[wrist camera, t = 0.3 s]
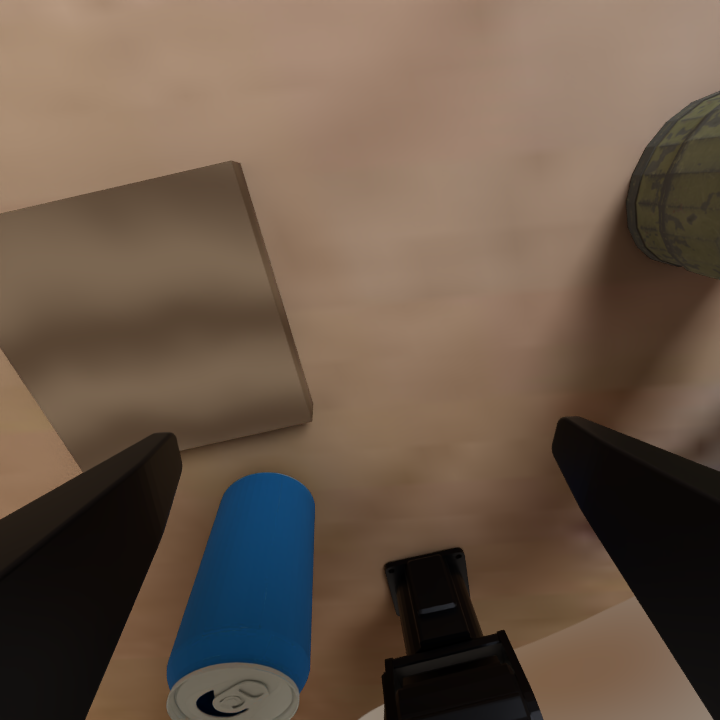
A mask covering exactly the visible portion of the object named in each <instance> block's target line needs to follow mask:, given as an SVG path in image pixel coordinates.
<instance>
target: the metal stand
mask: <svg viewBox="0 0 720 720" xmlns="http://www.w3.org/2000/svg"><path fill="white" fill-rule="evenodd" d="M0 348H1V349H2V351H3V352H4V354H5V355H6V357H7V358H8V360H9V361H10V363H11V364H12V366H13V367H14V369H15V370H16V372H17V373H18V375H19V377H20V378H21V380H22V381H23V383H24V384H25V386H26V387H27V389H28V390H29V392H30V393H31V395H32V396H33V398H34V399H35V401H36V402H37V404H38V405H39V407H40V408H41V410H42V411H43V413H44V414H45V416H46V417H47V419H48V420H49V422H50V423H51V425H52V426H53V428H54V429H55V431H56V432H57V434H58V435H59V437H60V438H61V440H62V441H63V443H64V444H65V446H66V447H67V449H68V450H69V452H70V453H71V455H72V456H73V458H74V459H75V461H76V462H77V464H78V465H79V467H80V468H81V470H82V472H86V471H87V470H89V469H91V468H93V467H94V466H96V465H98V464H100V463H102V462H103V461H105V460H107V459H109V458H110V457H112V456H114V455H116V454H117V453H119V452H121V451H123V450H125V449H126V448H128V447H130V446H132V445H133V444H135V443H137V442H139V441H141V440H142V439H144V438H146V437H148V436H149V435H151V434H153V433H158V432H172V433H174V434H175V435H176V438H177V442H178V446H179V451H181V450H186V449H190V448H195V447H199V446H204V445H208V444H213V443H217V442H222V441H226V440H231V439H236V438H240V437H245V436H249V435H254V434H258V433H263V432H267V431H272V430H276V429H281V428H285V427H290V426H294V425H299V424H303V423H308V422H312V415H313V402H312V399H311V395H310V392H309V389H308V386H307V382H306V379H305V376H304V372H303V369H302V366H301V362H300V359H299V356H298V352H297V349H296V346H295V343H294V339H293V336H292V333H291V329H290V326H289V323H288V319H287V316H286V313H285V310H284V306H283V303H282V300H281V296H280V293H279V290H278V286H277V283H276V280H275V277H274V273H273V270H272V267H271V263H270V260H269V257H268V253H267V250H266V247H265V243H264V240H263V237H262V234H261V230H260V227H259V224H258V220H257V217H256V214H255V210H254V207H253V204H252V201H251V197H250V194H249V191H248V187H247V184H246V181H245V177H244V174H243V171H242V168H241V164H240V163H238V162H234V161H228V162H223V163H219V164H215V165H210V166H206V167H202V168H197V169H193V170H188V171H184V172H180V173H175V174H171V175H167V176H162V177H158V178H154V179H149V180H145V181H140V182H136V183H132V184H127V185H123V186H119V187H114V188H110V189H106V190H101V191H97V192H93V193H88V194H84V195H79V196H75V197H71V198H66V199H62V200H58V201H53V202H49V203H45V204H40V205H36V206H32V207H27V208H23V209H18V210H14V211H10V212H5V213H1V214H0Z"/></svg>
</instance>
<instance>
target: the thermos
mask: <svg viewBox="0 0 720 720" xmlns="http://www.w3.org/2000/svg"><path fill="white" fill-rule="evenodd" d="M626 206H627V221H628V228H629V230H630V233H631V235H632V237H633V239H634V242H635V244H636V246H637V247H638V248H639V249H640V250H642V251H643V252H644V253H645V254H646V255H647V256H648V257H649V258H651V259H653V260H656V261H659V262H663V263H666V264H669V265H673V266H678V267H682V266H683V267H684V268H685V269H686V270H688V271H691V272H694V273H697V274H701V275H704V276H707V277H711V278H715V279H719V280H720V91H718V92H716V93H714V94H711V95H709V96H706V97H704V98H701V99H699V100H696V101H694V102H692V103H690V104H689V105H688V106H687V107H685V108H684V109H683V110H681V111H680V112H679V113H678V114H676V115H675V116H674V117H672V118H671V119H670V120H668V121H667V122H666V123H665V125H664V126H663V127H662V128H661V130H660V131H659V132H658V133H657V134H656V136H655V137H654V138H653V139H652V141H651V142H650V143H649V144H648V146H647V147H646V148H645V150H644V153H643V155H642V157H641V159H640V161H639V163H638V165H637V167H636V169H635V171H634V173H633V175H632V179H631V183H630V188H629V192H628V197H627V201H626Z"/></svg>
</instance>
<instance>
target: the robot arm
mask: <svg viewBox="0 0 720 720" xmlns="http://www.w3.org/2000/svg"><path fill="white" fill-rule="evenodd" d="M552 453H553V456H554V458H555V460H556V462H557V464H558V466H559V468H560V470H561V472H562V474H563V476H564V478H565V480H566V482H567V484H568V486H569V488H570V490H571V492H572V494H573V496H574V498H575V500H576V502H577V503H578V505H579V507H580V509H581V511H582V512H583V514H584V516H585V517H586V519H587V521H588V522H589V524H590V526H591V527H592V529H593V530H594V532H595V533H596V535H597V537H598V538H599V540H600V541H601V543H602V544H603V546H604V548H605V549H606V551H607V552H608V554H609V555H610V557H611V559H612V560H613V562H614V563H615V565H616V567H617V568H618V570H619V571H620V573H621V574H622V576H623V578H624V579H625V581H626V582H627V584H628V585H629V587H630V589H631V590H632V592H633V593H634V595H635V596H636V598H637V600H638V601H639V603H640V604H641V606H642V608H643V609H644V611H645V612H646V614H647V615H648V617H649V619H650V620H651V622H652V623H653V625H654V626H655V628H656V630H657V631H658V633H659V634H660V636H661V638H662V639H663V641H664V642H665V644H666V645H667V647H668V649H669V650H670V652H671V653H672V655H673V656H674V658H675V660H676V661H677V663H678V664H679V666H680V667H681V669H682V671H683V672H684V674H685V675H686V677H687V679H688V680H689V682H690V683H691V685H692V686H693V688H694V690H695V691H696V693H697V694H698V696H699V697H700V699H701V701H702V702H703V703H704V705H705V707H706V708H707V710H708V712H709V713H710V715H711V716H712V718H713V719H714V720H720V472H719V471H717V470H714V469H712V468H709V467H707V466H704V465H702V464H699V463H696V462H694V461H691V460H689V459H686V458H684V457H681V456H679V455H676V454H673V453H671V452H668V451H666V450H663V449H661V448H658V447H656V446H653V445H650V444H648V443H645V442H643V441H640V440H638V439H635V438H633V437H630V436H627V435H625V434H622V433H620V432H617V431H615V430H612V429H610V428H607V427H604V426H602V425H599V424H597V423H594V422H592V421H589V420H587V419H584V418H581V417H578V416H571V417H562V418H560V419H559V421H558V423H557V427H556V431H555V435H554V439H553V443H552ZM181 472H182V460H181V455H180V451H179V446H178V442H177V438H176V435H175V434H174V433H172V432H158V433H153V434H151V435H149V436H148V437H146V438H144V439H142V440H141V441H139V442H137V443H135V444H133V445H132V446H130V447H128V448H126V449H125V450H123V451H121V452H119V453H117V454H116V455H114V456H112V457H110V458H109V459H107V460H105V461H103V462H102V463H100V464H98V465H96V466H94V467H93V468H91V469H89V470H87V471H86V472H84V473H82V474H80V475H78V476H77V477H75V478H73V479H71V480H70V481H68V482H66V483H64V484H62V485H61V486H59V487H57V488H55V489H54V490H52V491H50V492H48V493H47V494H45V495H43V496H41V497H39V498H38V499H36V500H34V501H32V502H31V503H29V504H27V505H25V506H23V507H22V508H20V509H18V510H16V511H15V512H13V513H11V514H9V515H8V516H6V517H4V518H2V519H0V720H85V719H86V716H87V714H88V712H89V709H90V707H91V704H92V702H93V700H94V697H95V695H96V693H97V690H98V688H99V685H100V683H101V681H102V678H103V676H104V674H105V671H106V669H107V667H108V664H109V662H110V659H111V657H112V655H113V652H114V650H115V648H116V645H117V643H118V640H119V638H120V636H121V633H122V631H123V629H124V626H125V624H126V621H127V619H128V617H129V614H130V612H131V610H132V607H133V605H134V603H135V600H136V598H137V595H138V593H139V591H140V588H141V586H142V584H143V581H144V579H145V576H146V574H147V572H148V569H149V567H150V565H151V562H152V560H153V558H154V555H155V553H156V550H157V548H158V546H159V543H160V541H161V538H162V535H163V533H164V530H165V526H166V523H167V520H168V516H169V513H170V510H171V506H172V503H173V500H174V496H175V493H176V489H177V486H178V483H179V479H180V476H181ZM385 573H386V577H387V580H388V584H389V588H390V592H391V595H392V599H393V603H394V607H395V610H396V614H397V615H398V616H400V620H401V625H402V631H403V637H404V643H405V648H406V654H407V656H403V657H399V658H395V659H393V658H389V659H385V671H386V672H384V674H383V675H382V685H383V694H384V708H385V709H384V720H543V717H542V714H541V712H540V709H539V706H538V704H537V701H536V699H535V696H534V694H533V691H532V689H531V687H530V685H529V682H528V680H527V678H526V676H525V674H524V672H523V669H522V667H521V665H520V663H519V661H518V659H517V656H516V654H515V652H514V650H513V648H512V646H511V643H510V641H509V639H508V637H507V635H506V633H505V631H504V630H501V631H497V633H496V634H492V635H488V636H483V634H482V631H481V628H480V625H479V622H478V619H477V616H476V614H475V611H474V608H473V605H472V602H471V599H470V592H469V585H468V577H467V569H466V561H465V555H464V552H463V550H462V549H461V548H454V549H450V550H445V551H441V552H436V553H432V554H427V555H422V556H418V557H413V558H409V559H404V560H399V561H395V562H390V563H387V564H386V565H385Z"/></svg>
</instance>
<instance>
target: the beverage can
mask: <svg viewBox="0 0 720 720" xmlns="http://www.w3.org/2000/svg"><path fill="white" fill-rule="evenodd" d="M314 522H315V503H314V500H313V497H312V495H311V493H310V491H309V490H308V489H307V488H306V487H305V486H304V485H303V484H302V483H301V482H299V481H298V480H296V479H294V478H292V477H290V476H287V475H284V474H280V473H273V472H262V473H255V474H251V475H248V476H245V477H243V478H240V479H239V480H237V481H235V482H234V483H233V484H232V485H231V486H230V487H229V488H228V489H227V490H226V492H225V493H224V495H223V497H222V500H221V503H220V506H219V509H218V512H217V515H216V518H215V521H214V524H213V527H212V530H211V533H210V536H209V539H208V542H207V545H206V548H205V552H204V555H203V558H202V561H201V564H200V567H199V570H198V573H197V576H196V579H195V582H194V585H193V588H192V591H191V594H190V597H189V600H188V603H187V606H186V609H185V612H184V615H183V618H182V622H181V625H180V628H179V631H178V634H177V637H176V640H175V643H174V646H173V649H172V652H171V655H170V658H169V661H168V665H167V681H168V685H169V688H170V693H169V695H168V699H167V705H166V708H167V712H168V714H169V716H170V717H171V719H172V720H290V719H291V718H292V717H293V715H294V714H295V713H296V711H297V709H298V706H299V693H300V692H301V690H302V689H303V687H304V685H305V683H306V681H307V679H308V675H309V671H310V652H311V619H312V587H313V554H314Z"/></svg>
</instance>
